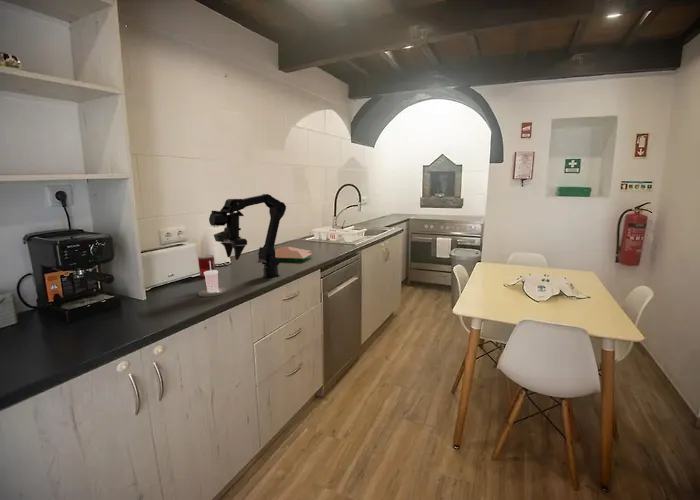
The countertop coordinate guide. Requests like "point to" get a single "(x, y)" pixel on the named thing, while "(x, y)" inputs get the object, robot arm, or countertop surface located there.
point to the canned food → (205, 263)
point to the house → (292, 253)
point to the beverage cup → (211, 280)
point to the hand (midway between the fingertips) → (232, 258)
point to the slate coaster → (207, 294)
